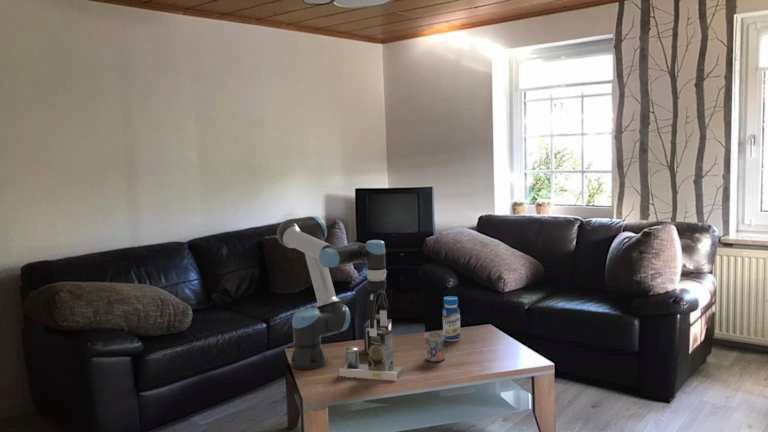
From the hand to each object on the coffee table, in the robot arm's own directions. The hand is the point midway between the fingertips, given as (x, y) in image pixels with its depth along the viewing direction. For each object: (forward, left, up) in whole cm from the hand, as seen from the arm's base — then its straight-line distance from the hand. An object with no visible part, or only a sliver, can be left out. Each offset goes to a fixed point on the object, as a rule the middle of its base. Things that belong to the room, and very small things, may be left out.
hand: (378, 330), depth 247 cm
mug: (+17, +23, -18) cm, 34 cm away
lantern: (-10, +28, -19) cm, 35 cm away
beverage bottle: (+19, +51, -18) cm, 57 cm away
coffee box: (0, +1, -16) cm, 16 cm away
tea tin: (-12, 0, -16) cm, 20 cm away
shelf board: (-4, 0, -18) cm, 19 cm away
